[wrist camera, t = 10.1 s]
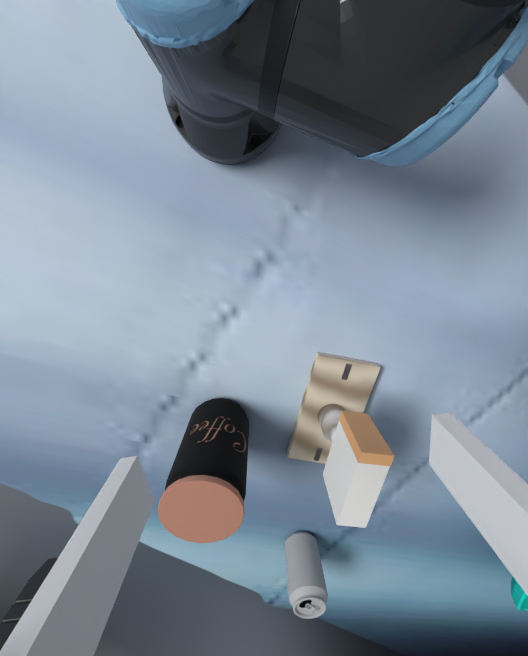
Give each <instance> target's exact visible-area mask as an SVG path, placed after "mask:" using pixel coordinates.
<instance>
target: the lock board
mask: <svg viewBox="0 0 528 656" xmlns="http://www.w3.org/2000/svg"><path fill="white" fill-rule="evenodd" d="M380 368H381V367H380V366H379V365H378V364H377V363H373V362H367V361H362V360H357V359H352V358H347V357H341V356H336V355H331V354H326V353H321V352H317V354H316V357H315V360H314V364H313V367H312V370H311V374H310V377H309V380H308V384H307V387H306V390H305V394H304V397H303V400H302V404H301V407H300V410H299V414H298V417H297V420H296V424H295V427H294V430H293V434H292V437H291V440H290V444H289V447H288V450H287V456H288V458H291V459H297V460H304V461H310V462H317V463H323V464H326V462H327V458H328V455H329V452H330V448H331V445H332V440H331V437H330V434H329V431H330V428H331V427H332V426H334V425H336V424H338V421H339V416H340V413H341V410H343V411H351V412H359V413H363V412H364V409H365V407H366V404H367V401H368V399H369V396H370V394H371V391H372V389H373V386H374V383H375V381H376V378H377V376H378V373H379V371H380Z"/></svg>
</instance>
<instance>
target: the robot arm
mask: <svg viewBox="0 0 528 656" xmlns="http://www.w3.org/2000/svg"><path fill="white" fill-rule="evenodd" d="M116 2H117V5H118V8H119V9H120V11H121V13H122V14H123V16H124V18H125V19H126V20H127V22H128V23H129V24H130V25H131V26H132V28H133V29H134V31H135V33H136V34H137V36H138V38H139V39H140V41H141V42H142V44H143V46H144V47H145V49H146V51H147V52H148V54H149V56H150V57H151V59H152V60H153V62H154V64H155V65H156V67H157V69H158V70H159V72H160V73H161V75H162V83H163V92H164V98H165V102H166V105H167V109H168V111H169V114H170V117H171V119H172V121H173V123H174V125H175V126H176V128H177V130H178V131H179V133H180V134H181V135H182V137H183V138H184V139H185V141H186V142H187V143H188V144H189V145H190V146H191V147H192V148H193V149H194V150H195V151H196V152H197V153H199V154H200V155H201V156H203V157H205V158H207V159H209V160H211V161H214V162H217V163H221V164H239V163H243V162H246V161H249V160H251V159H253V158H255V157H257V156H258V155H259V154H261V153H262V152H263V151H264V150H265V149H266V148H267V147H268V146H269V145H270V144H271V143H272V141H273V140H274V138H275V137H276V135H277V133H278V131H279V129H280V127H281V124H284V125H286V126H289V127H291V128H294V129H296V130H298V131H301V132H303V133H306V134H308V135H310V136H313V137H315V138H318V139H320V140H322V141H325V142H327V143H330V144H332V145H334V146H337V147H339V148H342V149H344V150H346V151H349V152H350V154H351V155H352V156H354V157H356V158H358V159H364V160H372V161H375V162H377V163H380V164H383V165H386V166H390V167H400V166H405V165H409V164H411V163H414V162H416V161H418V160H420V159H422V158H424V157H425V156H427V155H429V154H430V153H432V152H433V151H435V150H436V149H437V148H439V147H440V146H441V145H442V144H444V143H445V142H446V141H447V140H448V139H450V138H451V137H452V136H453V135H454V134H455V133H456V132H457V131H458V130H460V129H461V128H462V127H463V126H464V125H465V124H466V123H467V122H468V121H469V120H470V119H471V117H472V116H473V115H474V114H475V113H476V112H477V111H478V110H479V109H480V108H481V106H482V105H483V104H484V103H485V102H486V100H487V99H488V98H489V97H490V96H491V94H492V93H493V92H494V91H495V89H496V88H497V87H498V78H499V77H500V76H501V75H502V74H503V73H504V72H505V71H506V70H507V69H508V68H510V67H511V66H512V65H513V64H514V63H515V61H516V60H517V58H518V57H519V55H520V54H521V52H522V50H523V49H524V47H525V45H526V43H527V42H528V0H116ZM429 464H430V466H431V467H432V468H433V470H434V471H435V472H436V474H437V475H438V476H439V478H440V479H441V480H442V482H443V483H444V484H445V486H446V487H447V489H448V490H449V491H450V493H451V494H452V495H453V497H454V498H455V499H456V501H457V502H458V503H459V505H460V506H461V507H462V509H463V510H464V511H465V513H466V514H467V515H468V517H469V518H470V519H471V521H472V522H473V523H474V525H475V526H476V527H477V529H478V530H479V531H480V533H481V534H482V535H483V537H484V538H485V539H486V541H487V542H488V543H489V545H490V546H491V547H492V549H493V550H494V551H495V553H496V554H497V556H498V557H499V558H500V560H501V561H502V562H503V564H504V565H505V566H506V568H507V569H508V570H509V572H510V573H511V574H512V576H513V577H514V578H515V580H516V581H517V582H518V584H519V585H520V586H521V588H522V589H523V590H524V592H525V593H526V594H527V596H528V484H527V483H526V482H525V481H524V480H523V479H522V478H521V477H519V476H518V475H517V474H516V473H515V472H514V471H513V470H512V469H511V468H510V467H509V466H508V465H506V464H505V463H504V462H503V461H502V460H501V459H500V458H499V457H498V456H497V455H496V454H495V453H493V452H492V451H491V450H490V449H489V448H488V447H487V446H486V445H485V444H484V443H483V442H482V441H480V440H479V439H478V438H477V437H476V436H475V435H474V434H473V433H472V432H471V431H470V430H469V429H467V428H466V427H465V426H464V425H463V424H462V423H461V422H460V421H459V420H458V419H457V418H456V417H454V416H453V415H452V414H451V413H442V414H435V415H432V425H431V441H430V457H429ZM154 501H155V499H154V497H153V495H152V492H151V490H150V487H149V485H148V482H147V480H146V477H145V475H144V472H143V470H142V467H141V465H140V462H139V460H138V457H137V456H134V457H127V458H120V460H119V462H118V463H117V465H116V466H115V468H114V470H113V471H112V473H111V474H110V476H109V478H108V479H107V481H106V482H105V484H104V486H103V487H102V489H101V490H100V492H99V494H98V495H97V497H96V498H95V500H94V502H93V503H92V505H91V506H90V508H89V510H88V511H87V513H86V514H85V516H84V518H83V519H82V521H81V522H80V524H79V526H78V527H77V529H76V531H75V532H74V534H73V535H72V537H71V538H70V540H69V542H68V543H67V545H66V547H65V548H64V550H63V551H62V553H61V555H60V556H59V558H53V559H48V560H47V561H46V562H45V563H44V564H43V566H41V568H40V569H39V570H38V571H37V572H36V573H35V574H34V575H33V576H32V577H31V578H30V580H29V581H28V583H27V584H26V586H25V587H24V588H23V590H22V591H21V593H20V594H19V596H18V597H17V599H16V602H15V604H14V605H12V606H11V608H10V610H9V611H8V613H7V614H6V615H5V617H4V618H3V622H2V624H0V656H93V655H94V653H95V650H96V648H97V645H98V643H99V640H100V638H101V635H102V632H103V630H104V627H105V625H106V622H107V620H108V617H109V615H110V612H111V610H112V607H113V605H114V602H115V600H116V597H117V595H118V592H119V590H120V587H121V585H122V582H123V579H124V577H125V574H126V572H127V569H128V567H129V564H130V562H131V559H132V557H133V554H134V552H135V549H136V547H137V544H138V542H139V539H140V537H141V534H142V531H143V529H144V526H145V524H146V521H147V519H148V516H149V514H150V511H151V509H152V506H153V504H154Z"/></svg>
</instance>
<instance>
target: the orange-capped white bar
mask: <svg viewBox="0 0 528 656" xmlns="http://www.w3.org/2000/svg"><path fill="white" fill-rule="evenodd" d="M329 434H330V437H331V440H332V445H331V448H330V452H329V455H328V458H327V462H326V465H325V469H324V472H323V477H324V480H325V484H326V488H327V491H328V495H329V499H330V502H331V506H332V509H333V513H334V517H335V520H336V524H337V525H342V526H353V527H363V528H366V526H367V523H368V521H369V518H370V516H371V513H372V511H373V508H374V506H375V503H376V501H377V498H378V496H379V493H380V490H381V488H382V485H383V483H384V480H385V478H386V475H387V473H388V470H389V468H390V466H391V464H392V462H393V459H394V457H395V456H394V454H393V452H392V451H391V449H390V448H389V446H388V444H387V443H386V441H385V440H384V438H383V437H382V435H381V433H380V432H379V430H378V429H377V427H376V425H375V424H374V422H373V421H372V419H371V418H370V416H369V414H367V413H359V412H351V411H343V410H341V413H340V416H339V421H338V424H336V425H334V426H332V427H331V428H330V431H329Z"/></svg>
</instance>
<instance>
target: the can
mask: <svg viewBox="0 0 528 656" xmlns="http://www.w3.org/2000/svg"><path fill="white" fill-rule="evenodd" d="M284 547H285V558H286V570H287V582H288V593H289V602H290V604H291V605H292V606H293V610H294V613H295V614H296V615H297V616H299V617H301V618H307V619H310V618H316V617H319V616H320V615H322V614H323V613H324V612H325V610H326V601H327V599H328V594H327V589H326V584H325V579H324V574H323V569H322V564H321V558H320V553H319V548H318V543H317V540H316V538H315V537H313V536H312V535H310V534H309V533H307V532H302V531H301V532H296V533H293V534H292V535H290V536H289V538H288V539H287V540H286V541H285V544H284Z"/></svg>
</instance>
